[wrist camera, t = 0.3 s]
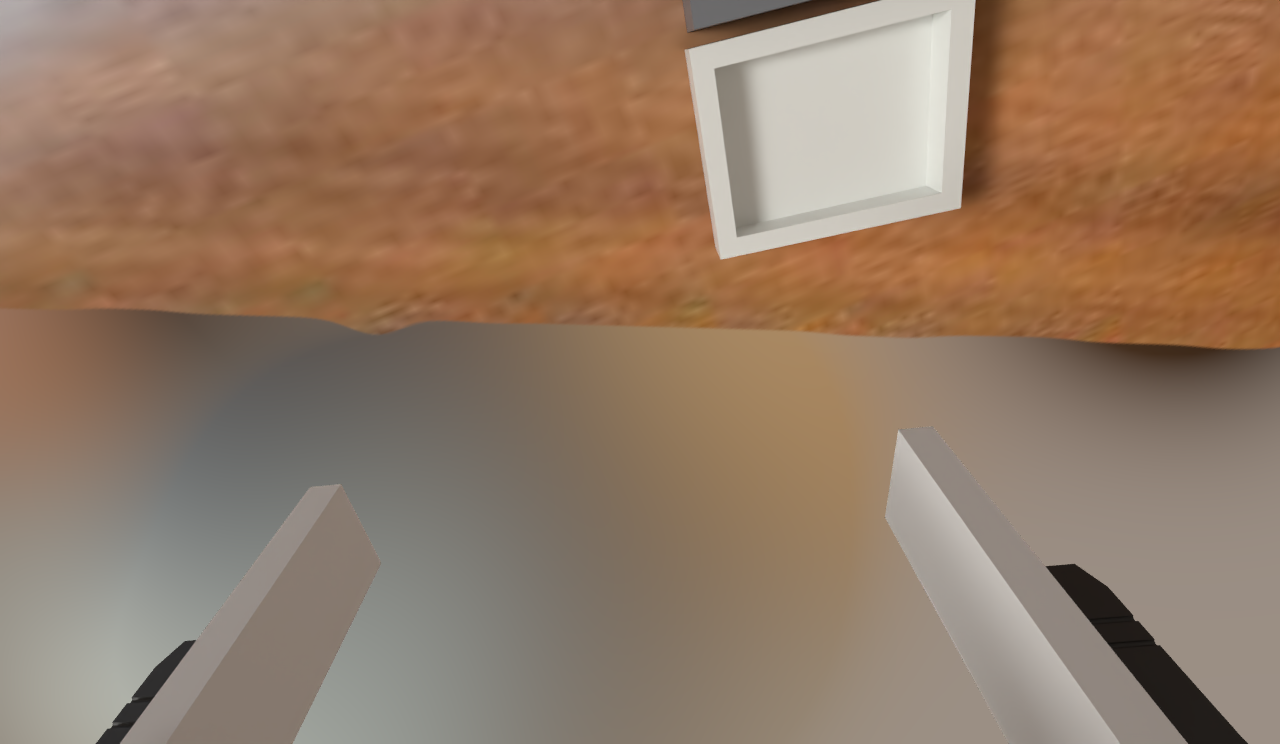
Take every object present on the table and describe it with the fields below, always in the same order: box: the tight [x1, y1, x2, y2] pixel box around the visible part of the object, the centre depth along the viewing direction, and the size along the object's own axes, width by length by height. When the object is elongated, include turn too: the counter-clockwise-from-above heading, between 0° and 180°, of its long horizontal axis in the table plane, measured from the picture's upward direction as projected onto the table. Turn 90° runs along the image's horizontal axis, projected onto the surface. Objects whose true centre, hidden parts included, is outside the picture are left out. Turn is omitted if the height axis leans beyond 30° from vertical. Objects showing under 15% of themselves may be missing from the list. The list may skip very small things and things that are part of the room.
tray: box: [685, 0, 976, 259], centre depth 33 cm, size 12×15×3 cm
